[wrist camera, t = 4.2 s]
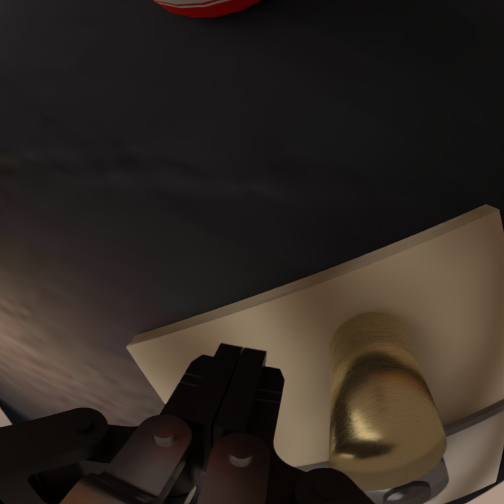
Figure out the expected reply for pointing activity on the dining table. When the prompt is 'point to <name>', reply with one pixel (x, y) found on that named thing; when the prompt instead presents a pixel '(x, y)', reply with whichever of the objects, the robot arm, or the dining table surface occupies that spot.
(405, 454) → the latch arm
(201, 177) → the dining table surface
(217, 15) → the beer can
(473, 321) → the door board
